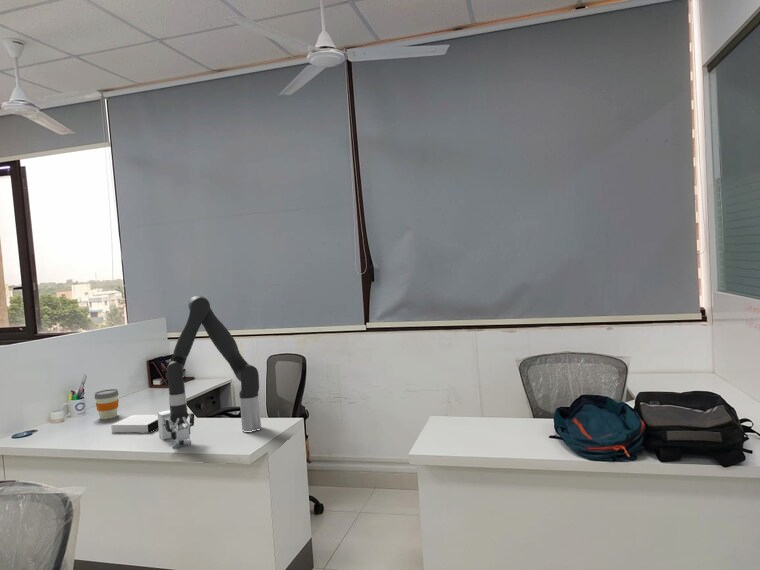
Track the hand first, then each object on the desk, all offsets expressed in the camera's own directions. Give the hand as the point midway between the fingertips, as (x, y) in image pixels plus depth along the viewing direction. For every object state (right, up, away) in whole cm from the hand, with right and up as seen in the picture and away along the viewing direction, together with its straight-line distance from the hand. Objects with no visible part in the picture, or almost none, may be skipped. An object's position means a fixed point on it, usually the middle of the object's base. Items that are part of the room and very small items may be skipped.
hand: (181, 437), depth 249 cm
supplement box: (-12, -4, +14) cm, 19 cm away
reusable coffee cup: (-65, -5, +59) cm, 88 cm away
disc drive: (-34, -5, +33) cm, 48 cm away
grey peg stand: (0, -4, 0) cm, 4 cm away
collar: (0, -1, 0) cm, 1 cm away
